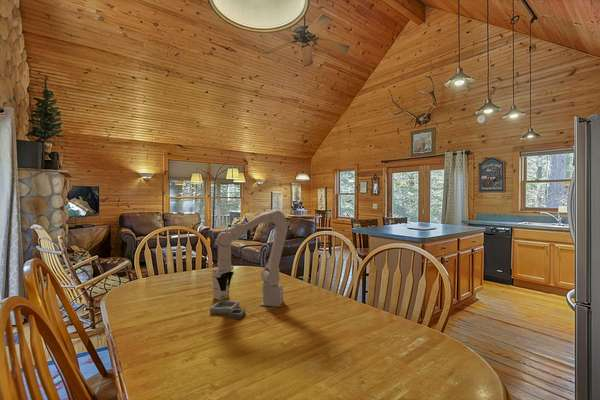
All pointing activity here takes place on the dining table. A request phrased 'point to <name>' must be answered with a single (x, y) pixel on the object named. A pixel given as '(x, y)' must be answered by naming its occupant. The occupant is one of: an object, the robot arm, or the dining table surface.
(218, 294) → the syrup box
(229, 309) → the parts tray
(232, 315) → the fuse socket
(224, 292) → the cylinder
